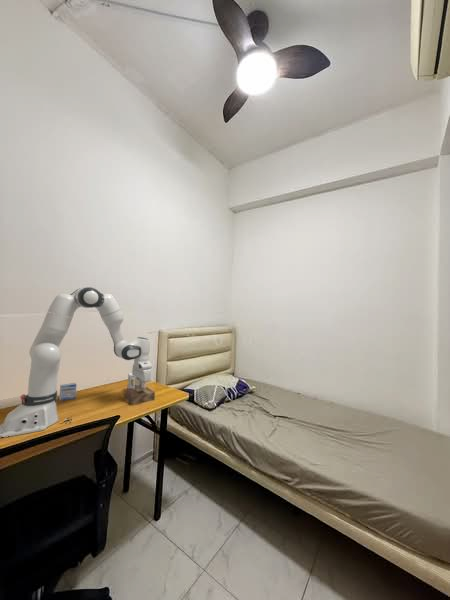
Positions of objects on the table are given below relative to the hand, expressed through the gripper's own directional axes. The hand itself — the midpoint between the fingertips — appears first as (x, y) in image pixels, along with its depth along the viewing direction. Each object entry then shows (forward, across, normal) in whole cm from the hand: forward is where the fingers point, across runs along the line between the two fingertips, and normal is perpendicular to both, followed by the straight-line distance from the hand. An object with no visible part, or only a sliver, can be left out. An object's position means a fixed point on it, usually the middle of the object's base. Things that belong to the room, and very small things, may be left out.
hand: (140, 385), depth 147 cm
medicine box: (+9, -26, -34) cm, 44 cm away
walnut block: (+9, 0, 0) cm, 9 cm away
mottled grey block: (+3, 0, 0) cm, 3 cm away
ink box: (+9, -16, +3) cm, 19 cm away
